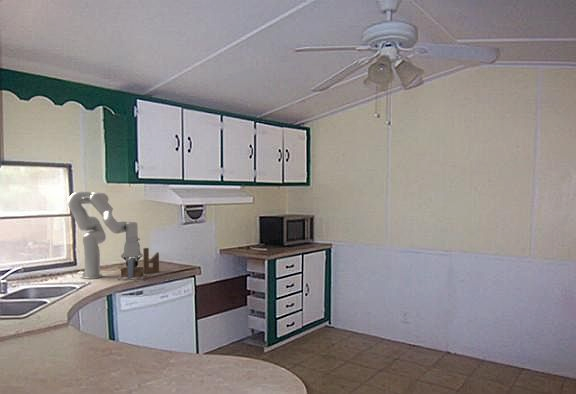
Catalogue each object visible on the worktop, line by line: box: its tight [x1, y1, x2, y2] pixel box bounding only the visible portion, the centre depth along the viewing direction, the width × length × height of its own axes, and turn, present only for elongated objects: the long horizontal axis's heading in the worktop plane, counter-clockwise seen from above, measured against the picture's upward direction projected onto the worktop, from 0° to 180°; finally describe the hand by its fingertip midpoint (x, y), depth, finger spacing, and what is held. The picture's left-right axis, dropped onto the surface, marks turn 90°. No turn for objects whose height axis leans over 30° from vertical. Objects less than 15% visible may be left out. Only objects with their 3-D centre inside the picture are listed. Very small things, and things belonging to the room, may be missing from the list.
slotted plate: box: [128, 257, 136, 278], centre depth 283 cm, size 3×11×12 cm, turn 6°
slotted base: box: [117, 266, 147, 281], centre depth 283 cm, size 16×11×7 cm
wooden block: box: [142, 247, 160, 274], centre depth 301 cm, size 4×11×18 cm, turn 126°
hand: (132, 266), depth 283 cm, fingers open, 4 cm apart
